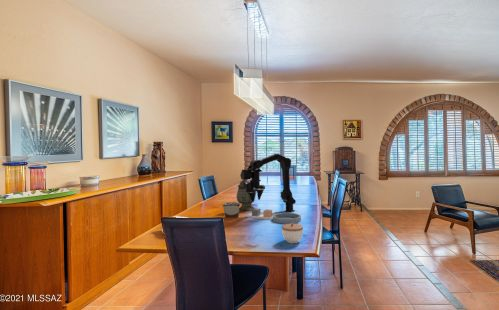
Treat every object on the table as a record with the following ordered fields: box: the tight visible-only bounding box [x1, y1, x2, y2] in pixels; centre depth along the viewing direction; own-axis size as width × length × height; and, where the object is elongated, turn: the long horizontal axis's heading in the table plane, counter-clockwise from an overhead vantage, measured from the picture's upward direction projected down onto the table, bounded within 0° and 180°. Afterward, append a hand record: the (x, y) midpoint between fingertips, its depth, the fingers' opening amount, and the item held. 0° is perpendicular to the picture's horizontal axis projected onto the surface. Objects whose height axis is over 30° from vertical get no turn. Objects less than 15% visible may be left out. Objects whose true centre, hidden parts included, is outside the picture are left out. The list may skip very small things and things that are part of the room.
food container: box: [222, 201, 241, 219], centre depth 211 cm, size 12×6×10 cm, turn 84°
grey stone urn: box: [236, 179, 255, 212], centre depth 233 cm, size 14×14×25 cm
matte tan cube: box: [263, 209, 273, 218], centre depth 208 cm, size 4×4×4 cm
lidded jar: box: [281, 223, 304, 244], centre depth 155 cm, size 11×11×9 cm
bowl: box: [272, 212, 302, 224], centre depth 198 cm, size 18×18×3 cm
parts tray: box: [244, 211, 277, 221], centre depth 210 cm, size 13×19×2 cm
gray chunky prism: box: [251, 207, 261, 216], centre depth 212 cm, size 4×4×4 cm
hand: (255, 200), depth 212 cm, fingers open, 9 cm apart
